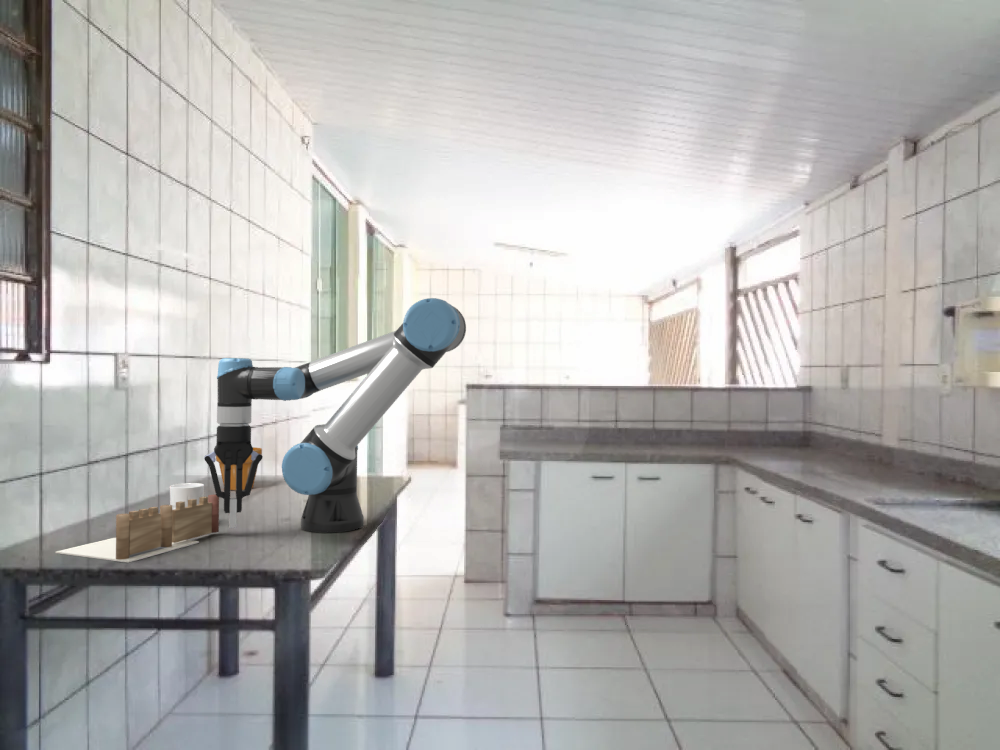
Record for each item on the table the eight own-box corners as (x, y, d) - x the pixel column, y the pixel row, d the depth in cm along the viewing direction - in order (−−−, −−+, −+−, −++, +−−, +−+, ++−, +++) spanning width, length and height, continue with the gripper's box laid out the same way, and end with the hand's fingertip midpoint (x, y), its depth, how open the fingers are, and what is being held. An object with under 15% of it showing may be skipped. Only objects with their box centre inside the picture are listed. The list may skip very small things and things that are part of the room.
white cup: (191, 530, 178) (191, 488, 178) (161, 528, 179) (162, 487, 179) (210, 523, 186) (210, 483, 186) (182, 522, 187) (182, 482, 187)
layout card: (199, 542, 164) (199, 540, 164) (128, 562, 147) (128, 560, 147) (130, 535, 171) (130, 533, 171) (55, 553, 154) (55, 551, 154)
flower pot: (228, 484, 251) (228, 446, 251) (268, 486, 249) (268, 447, 249) (207, 491, 237) (207, 450, 237) (250, 492, 235) (250, 451, 235)
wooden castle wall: (174, 547, 160) (174, 504, 160) (121, 561, 147) (122, 515, 147) (165, 546, 161) (166, 503, 161) (112, 560, 148) (113, 514, 148)
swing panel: (221, 531, 173) (221, 494, 173) (177, 543, 161) (177, 503, 161) (212, 530, 174) (213, 494, 174) (168, 542, 162) (169, 503, 162)
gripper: (261, 423, 178) (260, 522, 178) (203, 424, 172) (201, 525, 172) (265, 425, 171) (263, 528, 171) (204, 426, 166) (202, 532, 166)
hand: (232, 526), depth 172 cm, fingers closed
